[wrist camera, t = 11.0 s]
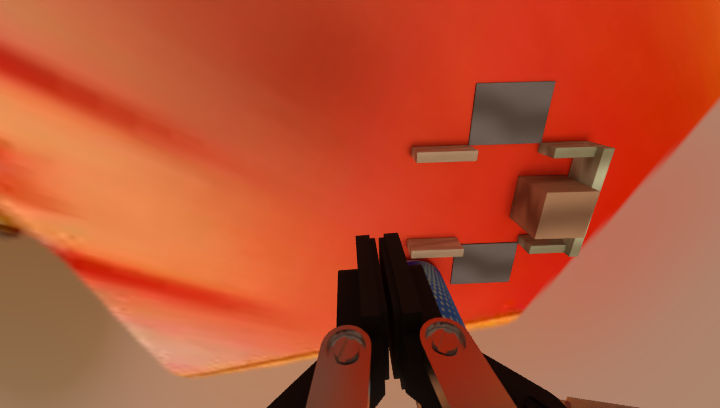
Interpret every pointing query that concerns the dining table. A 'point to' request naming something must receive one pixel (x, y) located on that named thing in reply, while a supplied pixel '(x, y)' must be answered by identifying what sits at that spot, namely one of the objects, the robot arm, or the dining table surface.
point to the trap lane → (509, 126)
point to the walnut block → (553, 206)
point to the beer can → (439, 291)
